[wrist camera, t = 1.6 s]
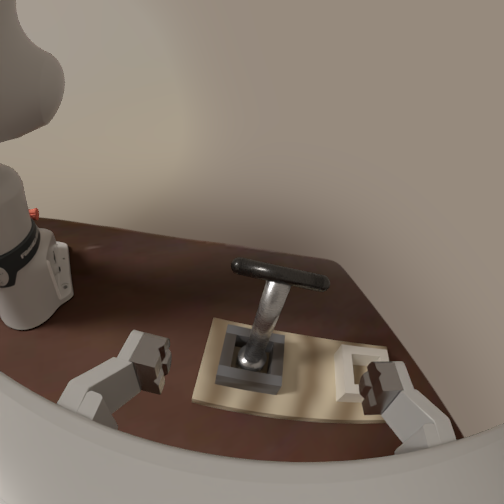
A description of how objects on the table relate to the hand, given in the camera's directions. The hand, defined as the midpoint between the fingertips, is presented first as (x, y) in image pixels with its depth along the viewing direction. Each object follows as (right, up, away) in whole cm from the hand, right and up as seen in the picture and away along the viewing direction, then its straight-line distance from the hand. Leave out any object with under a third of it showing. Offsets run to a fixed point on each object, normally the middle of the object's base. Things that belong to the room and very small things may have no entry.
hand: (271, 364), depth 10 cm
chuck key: (-1, -11, +27) cm, 29 cm away
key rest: (+16, -15, +27) cm, 35 cm away
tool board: (+7, -14, +28) cm, 32 cm away
